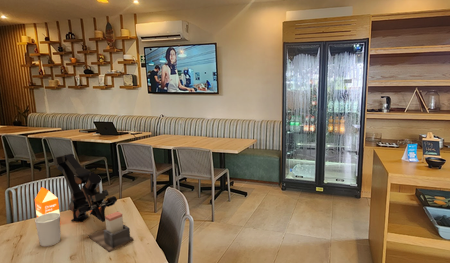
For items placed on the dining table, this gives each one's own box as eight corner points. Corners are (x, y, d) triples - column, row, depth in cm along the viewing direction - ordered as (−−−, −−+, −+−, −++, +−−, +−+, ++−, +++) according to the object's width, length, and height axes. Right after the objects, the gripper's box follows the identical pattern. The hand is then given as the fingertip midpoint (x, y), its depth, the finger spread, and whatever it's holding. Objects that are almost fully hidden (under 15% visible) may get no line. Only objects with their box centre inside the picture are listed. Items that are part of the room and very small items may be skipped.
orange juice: (44, 230, 140) (40, 192, 137) (37, 225, 146) (33, 188, 142) (61, 224, 146) (57, 188, 143) (53, 219, 152) (49, 184, 148)
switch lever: (107, 240, 129) (105, 216, 127) (119, 235, 133) (117, 211, 131) (111, 243, 126) (109, 218, 124) (123, 238, 131) (122, 213, 129)
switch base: (88, 237, 134) (87, 223, 133) (112, 227, 143) (111, 214, 142) (109, 252, 122) (108, 237, 121) (133, 240, 131) (132, 226, 130)
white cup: (34, 249, 125) (31, 224, 123) (42, 237, 134) (39, 214, 132) (59, 245, 127) (56, 221, 125) (65, 234, 137) (62, 211, 135)
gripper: (76, 191, 128) (89, 221, 123) (114, 180, 142) (127, 207, 137) (70, 202, 134) (82, 232, 129) (107, 191, 149) (119, 217, 144)
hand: (104, 221), depth 135 cm, fingers closed
